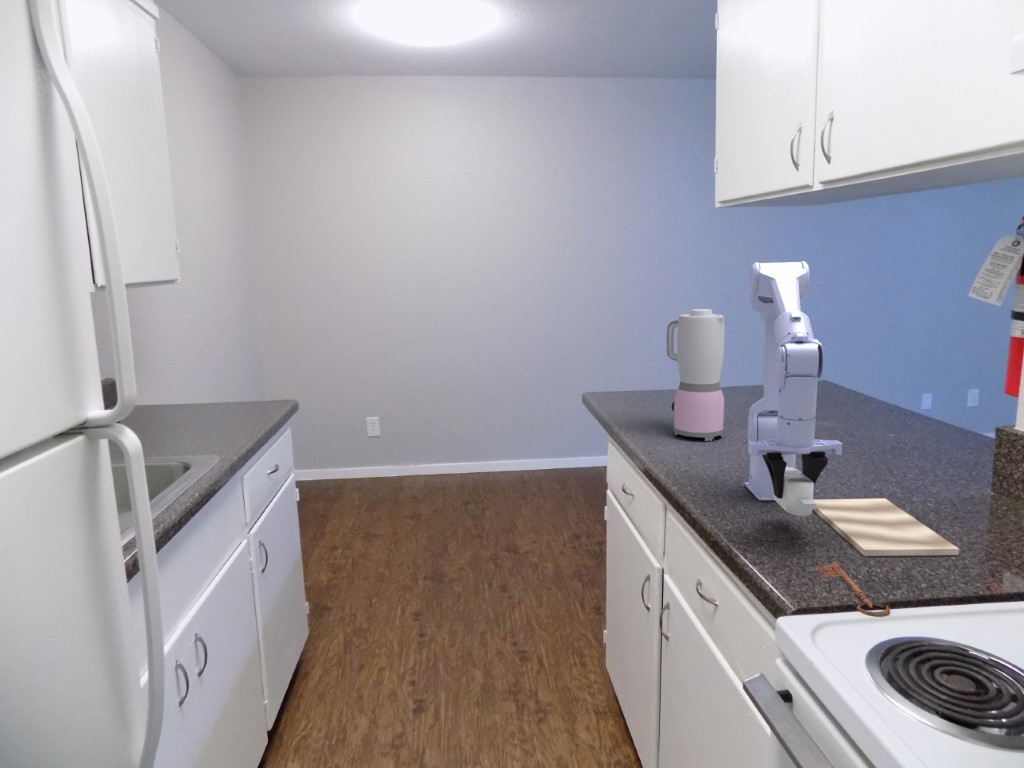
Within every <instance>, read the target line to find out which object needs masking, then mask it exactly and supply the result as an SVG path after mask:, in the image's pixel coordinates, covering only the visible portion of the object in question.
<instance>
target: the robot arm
mask: <svg viewBox="0 0 1024 768" xmlns="http://www.w3.org/2000/svg"><path fill="white" fill-rule="evenodd" d="M809 285H810V266H809V265H808V263H807V262H806V261H804V260H801V261H800V262H799V261H794V262H792V261H791V262H787V261H786V262H761V263H760V262H754V263H753V264H752V265H751V267H750V272H749V294H750V295H749V302H750V304H751V305H750V306H751V309H753V310H754V311H757V312H758V313H759V314H760V318H761V324H762V356H763V358H762V359H763V360H762V362H763V366H762V367H763V369H762V370H763V371H762V373H763V397H762V398H760V399H758V400H757V401H756V402H754V403H753V404H751V406H750V408H749V409H748V420H747V441H748V442H747V443H748V444H747V446H748V447H747V453H748V454H749V476H748V477H749V479H748V480H749V481H746V482H744V486H745V487H746V488H747V489H748V490H749V491H750V492H751V493H752V495H753V496H754V497H755V498H756V499H757V500H759V501H775V500H774V499H773V489H774V495H775V496H776V497H777V498H782V497H783V481H784V473H785V469H786V467H790V468H795V469H796V459H797V455H801V463H802V465H801V467H802V473H803V474H804V475H805V476H806V477H808V478H809V479H810V480H811V481H813V482H814V487H815V486H816V483H817V480H818V479H819V477H820V475H821V474H822V471H824V469H825V468H826V466H827V465H828V463H829V458H828V457H827V456H826V455H827V454H828V455H829V454H830V455H835V456H841V455H843V442H841V441H839V440H833V439H832V440H831V439H829V440H828V439H815V431H816V416H817V415H816V414H817V398H818V382H819V381H818V380H819V379H821V377H822V375H823V371H824V366H825V365H824V364H825V356H824V348H823V345H822V343H821V342H820V341H819V339H815V337H814V332H813V329H812V325H811V321H810V320H811V319H810V318H809V316H808V315H807V314H806V313H804V312H803V311H802V310H801V309H802V304H803V303H804V300H805V298H806V295H807V292H808V289H809Z"/></svg>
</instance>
